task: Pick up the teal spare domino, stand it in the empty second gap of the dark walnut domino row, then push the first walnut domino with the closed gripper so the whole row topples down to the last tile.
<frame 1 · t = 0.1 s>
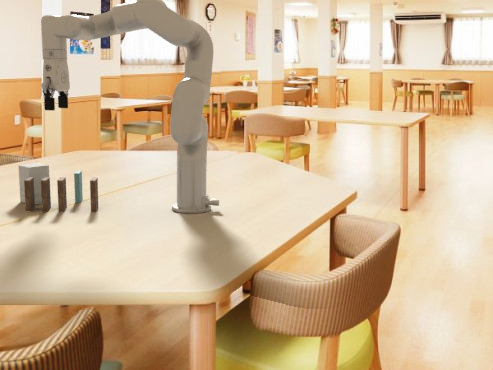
hand: (56, 109, 196), 31 cm above the table, fingers open, 9 cm apart
spare domino: (78, 201, 204), on the table
domino 1: (94, 209, 193), on the table
domino 3: (62, 209, 192), on the table
supplement box: (35, 202, 201), on the table
domino 4: (46, 209, 192), on the table
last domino: (30, 209, 191), on the table
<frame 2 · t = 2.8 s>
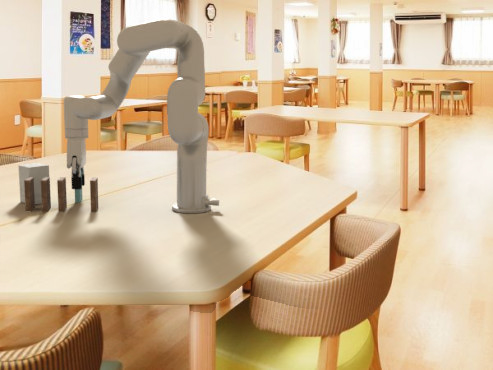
hand: (78, 186, 203), 5 cm above the table, fingers closed on spare domino, 4 cm apart
spare domino: (78, 201, 204), on the table, touching gripper
everything else where it was.
when the fingers open (6 cm above the table, at t = 8.2 s): spare domino stays where it is, on the table.
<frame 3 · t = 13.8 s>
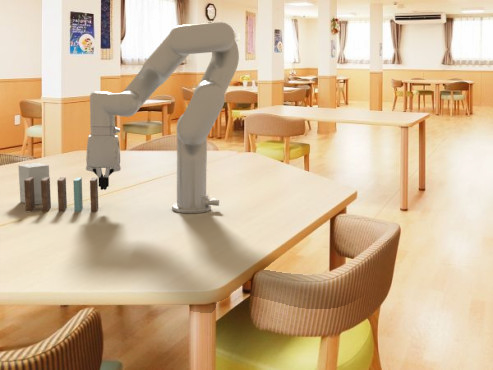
hand: (103, 188, 192), 7 cm above the table, fingers closed
spare domino: (78, 209, 193), on the table
domino 1: (94, 209, 193), on the table, touching gripper
everything else where it was.
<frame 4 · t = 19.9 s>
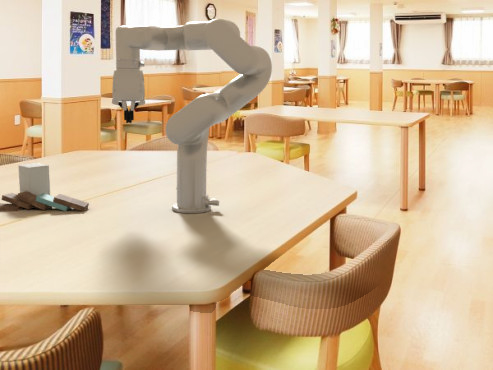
hand: (129, 122, 198), 27 cm above the table, fingers closed
spare domino: (68, 207, 193), point 1 cm above the table, tilted 72°, touching domino 1, domino 3
domino 1: (86, 207, 192), point 1 cm above the table, tilted 73°, touching spare domino
domino 3: (48, 206, 192), point 1 cm above the table, tilted 71°, touching domino 4, spare domino
domino 4: (33, 205, 192), point 1 cm above the table, tilted 77°, touching domino 3, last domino
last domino: (20, 208, 192), on the table, tilted 90°, touching domino 4
everything else where it was.
at the end: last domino tilted 90°; spare domino inside the target area (1.9 cm from its centre), point 0.7 cm above the table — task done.
